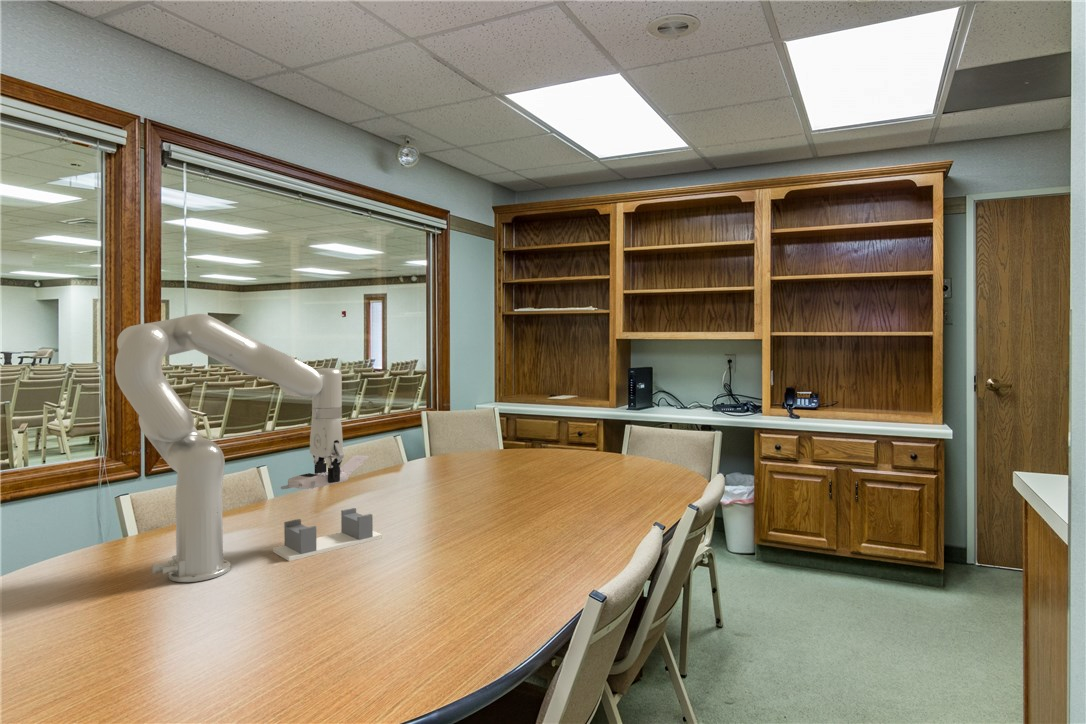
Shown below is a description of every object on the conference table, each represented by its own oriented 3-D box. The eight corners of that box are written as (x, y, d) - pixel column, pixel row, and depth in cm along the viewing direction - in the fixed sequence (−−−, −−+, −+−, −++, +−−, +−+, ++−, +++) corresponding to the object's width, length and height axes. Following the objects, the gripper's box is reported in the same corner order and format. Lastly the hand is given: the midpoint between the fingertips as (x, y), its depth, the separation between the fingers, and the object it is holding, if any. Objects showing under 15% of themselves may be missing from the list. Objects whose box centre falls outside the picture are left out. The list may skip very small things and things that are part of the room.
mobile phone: (371, 456, 172) (293, 469, 151) (371, 476, 172) (293, 493, 151) (356, 454, 176) (279, 467, 155) (356, 474, 176) (279, 490, 155)
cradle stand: (289, 561, 150) (289, 532, 150) (273, 551, 157) (272, 524, 157) (382, 538, 169) (382, 512, 169) (364, 530, 176) (363, 505, 176)
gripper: (298, 412, 166) (298, 477, 166) (329, 417, 154) (329, 487, 155) (324, 410, 172) (324, 473, 172) (356, 415, 160) (356, 482, 160)
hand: (327, 479), depth 163 cm, fingers closed on mobile phone, 6 cm apart
